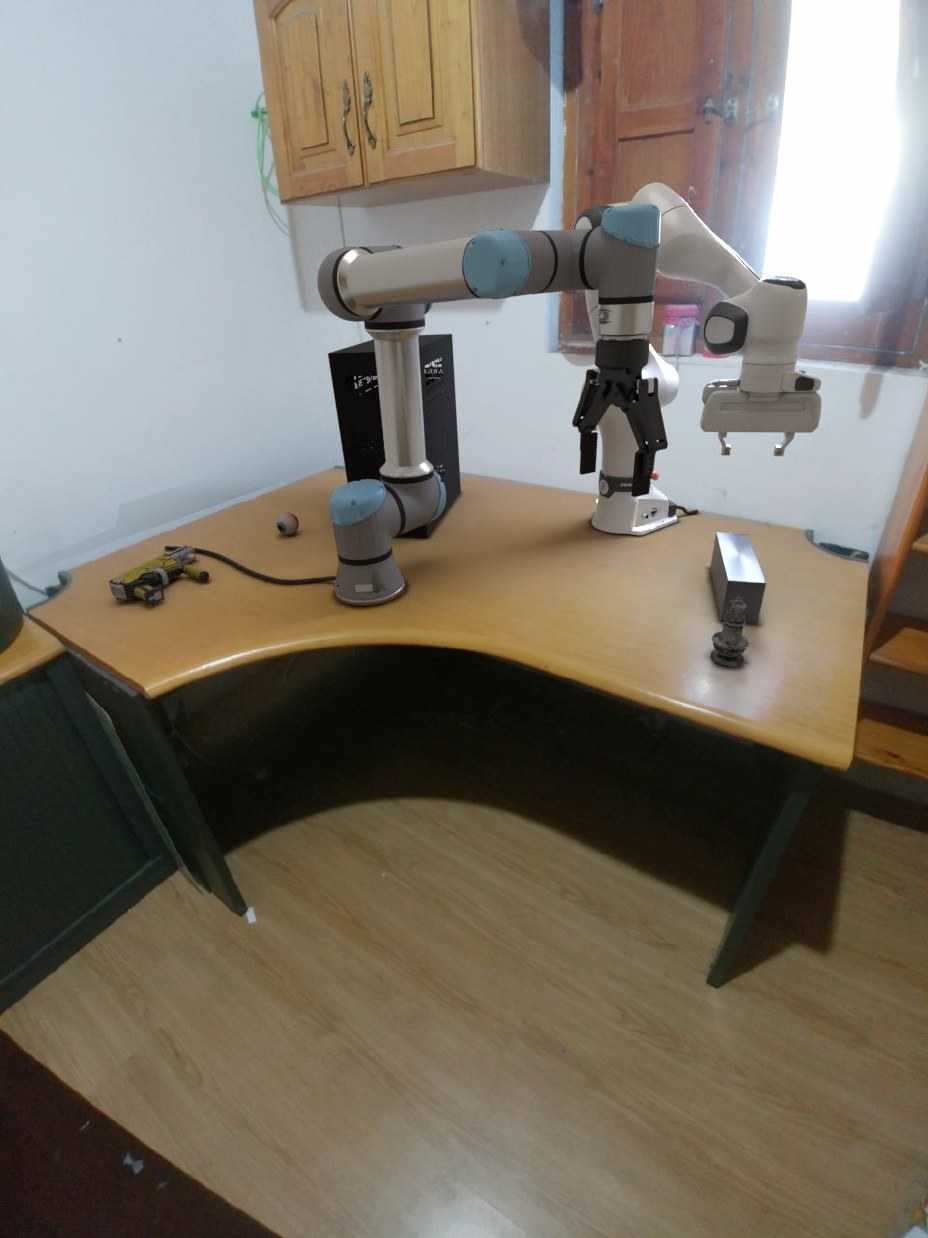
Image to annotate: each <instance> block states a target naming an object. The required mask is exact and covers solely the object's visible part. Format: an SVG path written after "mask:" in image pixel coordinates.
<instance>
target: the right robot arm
mask: <svg viewBox="0 0 928 1238" xmlns="http://www.w3.org/2000/svg"><path fill="white" fill-rule="evenodd" d="M636 204H652V205H655V206H657V207H658V208H659V210H660V213H661V222H660V243H661V245H660V248H659V252H658V261H657V270H656V273H659V274H660V275H661V276H662V277H664V278H666V279H670V280H676V281H684V282H692V283H699V284H702V285H703V284H704V285H707V286H709V287H712V288H714V289H715V290H718V291H719V292H720V293H721V294H722V295H723V297H725V298H726V299H725V300H723V301H719V302H717V303H716V304H714V305H713V306H712V307H711V308H710V310H709V311H708V313H707V314H706V316H705V318H704V321H703V324H702V325H703V326H702V341H703V343H704V346H705V348H706V349H707V350H708V351H709V353H710V354H712V355H715V356H721V357H729V356H740V355H741V356H742V361H741V365H740V372H739V378H738V379H737V378H734V379H713V380H712V381H711V382H709V383H707V384H706V385H705V386H704V387H703V390H702V395H701V401H702V403H703V408H702V411H701V415H700V420H699V427H700V429H701V430H702V431H703V432H704V433H717V437H718V440H719V442H720V444H721V449H720V455H721V456H722V457H723V456H730V455H731V451H732V446H731V444H727V443H726V441H725V439H726V438H727V436H728V433H781V434H782V433H783V436H784V439H783V440H782V441H781V442H780V443H779V444H775V445H774V450H773V453H772V454H773V456H774V457H784V454H785V450H786V448H787V447H788V446H789V445H790V443H791V442H792V441H793V440H794V439H795V434H796V433H797V434H798V433H802V434H805V433H809V434H810V433H814V432H815V431H816V430H817V429H818V428H819V425H820V420H821V413H822V397H821V396H820V394H819V393H818V392H819V390H820V389H821V386H822V380H821V378H820V377H818V376H817V375H815V374H813V373H810V372H808V371H805V370H802V369H797V368H796V366H797V359H798V358H797V347H798V344H799V341H800V339H801V338H802V335H803V332H804V327H805V321H806V315H807V308H808V288H807V283H806V282H804V281H803V280H801V279H800V278H796V277H792V276H782V275H771V276H766V277H761V276H760V275H759V274H758V273H757V272H756V271H755V270H754V269H753V268H752V266H750V265H749V264H748V262H746V261H745V260H744V259H743V258H742V256H740V254H738V252H736V251H735V250H734V249H732V248H731V246H730V245H728V244H727V243H725V242H724V241H723V240H722V239H720V238H719V237H718V236H717V235H716V233H714V232H712V231H711V230H710V228H709V227H708V226H707V225H706V224H705V223H704V222H703V221H702V220H701V219H700V217H698V216H697V214H696V213H695V212H694V210H693V209H692V208H691V207H690V206H689V204H688V203H687V202H686V201H685V200H684V198H682V197H681V196H680V195H679V194H678V193H677V192H676V191H674V190H673V189H672V188H671V187H669V186H668V185H666V183H662V182H659V181H658V182H656V181H655V182H651V183H648V184H646V185H644V186H643V187H642V188H640V189H638V191H637V192H636V193H635V194H634V196H633V197H632V199H631V201H621V202H617V203H609V204H597V205H593V206H590V207H588V208H586V209H584V210H583V211H582V212H581V213H580V214H579V215H578V217H577V219H576V221H575V223H574V227H573V230H576V229H592V228H596V227H600V226H601V222H602V218H603V213H604V211H605V210H606V209H608V208H611V207H616V206H623V205H636ZM584 296H585V303H586V309H587V310H586V311H587V315H588V318H589V319H588V320H589V323H590V328H591V332H592V333H591V334H592V338H593V341H594V346H595V347H596V342H597V340H598V339H601V336H599V335H598V334H597V321H598V305H599V303H598V290H584ZM653 377H657V378H658V398H659V403H660V408H661V409H662V408H663V407H666V406H667V405H670V404H671V403H673V402H674V400H675V399H676V398H677V395H678V393H679V389H680V379H679V375H678V371H677V370H676V369H675V368H674V366H672V365H670V364H669V363H667V362H666V361H664V360H663V358H661V357H660V356H659V355H658V353H657V352H656V351H655V349H654V348H653V346H652V344H651V343H650V348H649V359H648V364H647V365H646V366H644V367H643V369H642V378H643V379H646V378H653ZM584 385H585V380H584V381H583V383H582V386H581V389H580V395H579V396H580V397H581V394H582V391H583V388H584ZM633 402H635V400H634V401H633ZM596 427H597V429H598V431H599V433H600V438H601V468H600V470H599V474H598V492H599V493H598V498H597V499H596V507H595V511H594V514H593V517H592V520H591V525H592V526H593V527H594V528H595V529H597V530H599V531H601V532H605V533H611V534H623V535H625V534H626V535H632V536H633V535H634V536H645V535H646V534H650V533H652V532H654V531H657V530H660V529H662V528H665V527H668V526H670V525H672V524H675V523H677V522H678V516H677V515H676V513H677V510H681V511H682V512H683V513H684V514H685V515H694V514H696V513H699V509H693V510H687V509H686V507H684V506H682V505H678V504H676V503H675V502H673V501H672V500H670V499H669V498H668V497H667V496H666V495H665V494H664V493H663V492H661V491H660V490H659V489H658V488H656V487H655V486H654V485H652V483H651V481H650V489H649V494H646V495H642V496H637V497H633V496H631V493H632V482H633V471H634V460H635V452H637V451H638V450H639V447H638V445H637V442H636V440H635V437H634V434H633V432H632V429H631V427H630V424H629V421H628V419H627V416H626V414H625V413H624V412H622V411H621V408H619V407H615V406H614V405H610V406H609V408H608V409H607V411H606V412H605V414H604V416H603V417H602V419H601V420H600V422H599V423H598V425H597V426H596ZM646 444H648V443H647V442H646ZM659 478H660V473H659V472H657V471H653V473H652V474H651V480H653V481H658V479H659Z"/></svg>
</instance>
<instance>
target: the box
mask: <svg viewBox="0 0 928 1238" xmlns="http://www.w3.org/2000/svg"><path fill="white" fill-rule="evenodd" d="M710 560H711V561H710V566H709V570H710V575H711V580H712V586H713V590H714V595H715V600H716V605H717V610H718V616H719V621H720V622H723V617H725V616H726V612H727V606H728V603H729V602H730V601H732V600H736V599H737V597H738V596H740V598H741V599H740V600H741V601H743V602H745V603H746V605H747V609H746V613H745V618H744V619H745V620H746V624H748V625H749V624H750V625H758V622H759V617H760V613H761V609H762V608H761V607H762V604H763V599H764V595H765V591H766V586H767V581H766V580H765V576H764V574H763V571H762V568H761V565H760V562H759V560H758V556H757V554H756V551H755V549H754V546H753V542H752V540H751V538H750V534H749V533H742V532H741V533H740V532H723V531H721V532H718V531H716V532H715V537H714V543H713V550H712V553H711V559H710Z"/></svg>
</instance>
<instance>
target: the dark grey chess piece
mask: <svg viewBox="0 0 928 1238" xmlns="http://www.w3.org/2000/svg"><path fill="white" fill-rule="evenodd" d="M740 599H741V598H740V596H738V597H737V599H736V600H732V601H730V602H729V603H728V606H727V612H726V616H725V617H723V621H722V622H723V624H722V630H720V631H717V632H715V633H713V634H712V635H711V641H712V645H713V648H714V649H713V650H712V651H711V652H710V658H711V660H712V661H713V662H715V663H717V664H719V665H721V666H725V667H738V666H740V665H742V664H743V663H744V656H743V655H742V654H743V653H744V652H745V651H746V649H747V648H748V647H749V646H750V640H749V639H748V638H747V637H746V636H745V635H743V629H744V626H745V625H747V623H746V620H745V619H744V618H745V613H746V609H747V605H746V603H745V602H743V601H741V600H740Z"/></svg>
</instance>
